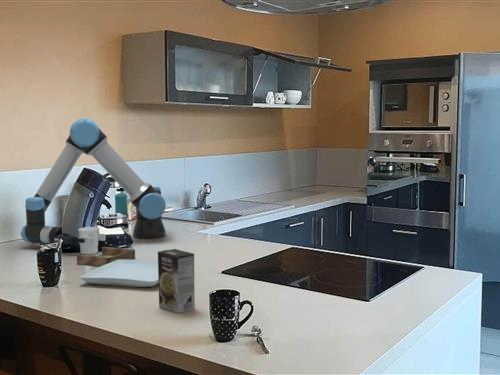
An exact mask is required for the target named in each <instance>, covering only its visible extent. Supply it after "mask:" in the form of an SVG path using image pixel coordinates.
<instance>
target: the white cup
mask: <svg viewBox="0 0 500 375" xmlns="http://www.w3.org/2000/svg"><path fill="white" fill-rule="evenodd" d="M77 231H78V232H79V237H92V239H93V244H92V245H91V244H79V248H80V255H89V256H90V255H95V254H97V253H98V252H99V247H98V246H99V240H98V233H99V227H95V226H89V227H88V226H87V227H80V228H78V230H77Z"/></svg>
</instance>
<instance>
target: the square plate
mask: <svg viewBox="0 0 500 375" xmlns="http://www.w3.org/2000/svg"><path fill="white" fill-rule="evenodd" d="M78 278H79V279H81V280H82V281H84V282H85V283H87V284H94V285H95V284H96V285H103V286H104V285H105V286H118V287H131V286H134V287H136V288H148V287H154V286H156V285H157V284H159V280H158V259H157V260H155V259H132V260H116V261H113V262H111V263H108V264H106V265H103V266H101V267H99V266H97V267H96V268H93V269H92V270H90V271H88V272H86V273H84V274H83V275H80V276H79V277H78Z"/></svg>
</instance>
